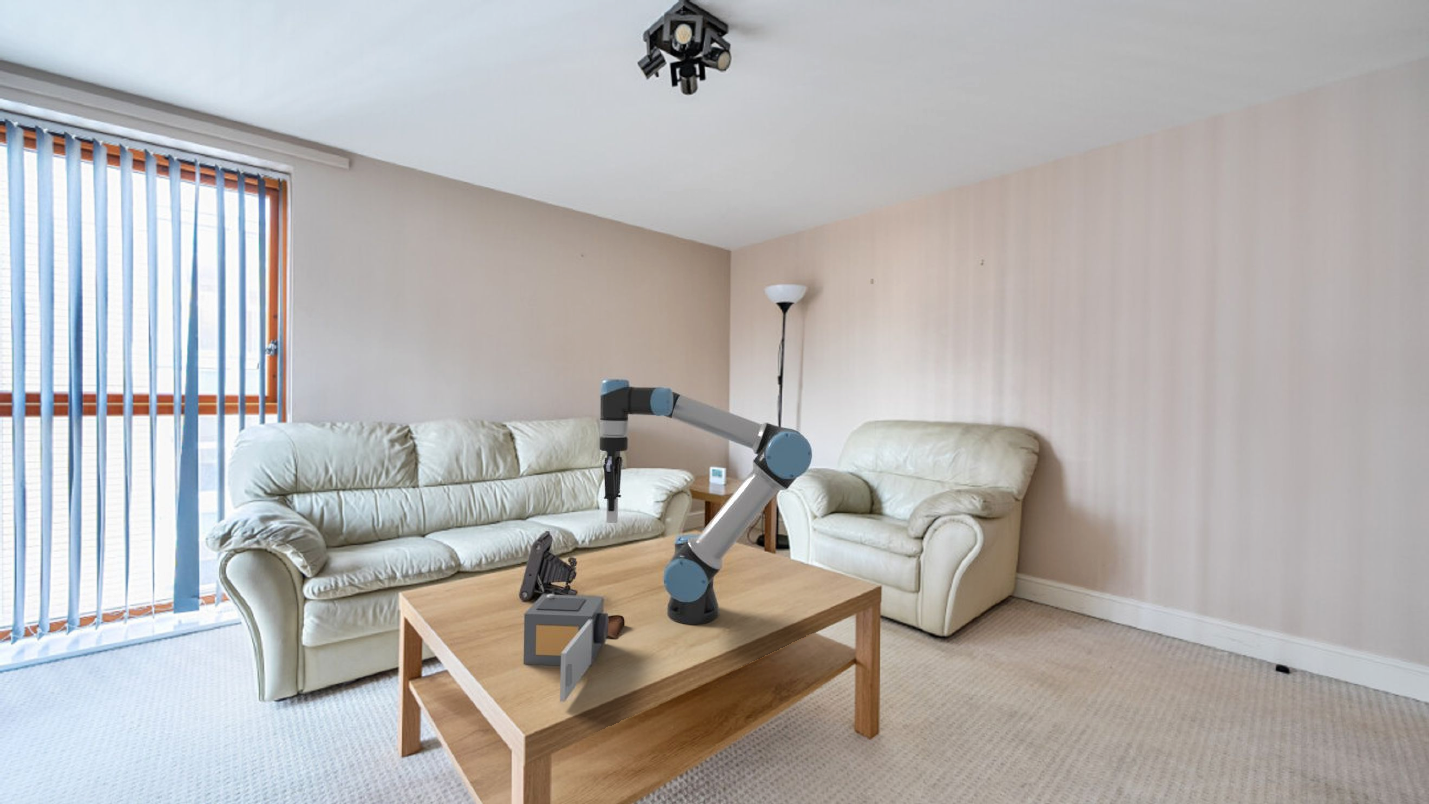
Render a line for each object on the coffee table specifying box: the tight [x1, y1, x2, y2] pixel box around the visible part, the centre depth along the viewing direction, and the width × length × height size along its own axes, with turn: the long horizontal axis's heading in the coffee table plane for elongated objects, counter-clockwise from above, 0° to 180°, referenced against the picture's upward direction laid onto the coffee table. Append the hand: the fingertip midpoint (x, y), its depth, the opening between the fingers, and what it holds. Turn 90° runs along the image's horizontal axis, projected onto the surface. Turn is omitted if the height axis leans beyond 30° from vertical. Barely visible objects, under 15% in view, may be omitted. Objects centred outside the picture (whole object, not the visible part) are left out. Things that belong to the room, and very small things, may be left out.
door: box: [559, 619, 593, 703], centre depth 116 cm, size 17×2×10 cm, turn 173°
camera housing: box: [523, 593, 609, 668], centre depth 131 cm, size 18×12×13 cm
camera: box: [518, 530, 578, 602], centre depth 168 cm, size 11×17×20 cm, turn 89°
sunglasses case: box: [607, 614, 626, 640], centre depth 144 cm, size 18×7×7 cm
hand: (612, 522), depth 145 cm, fingers closed
